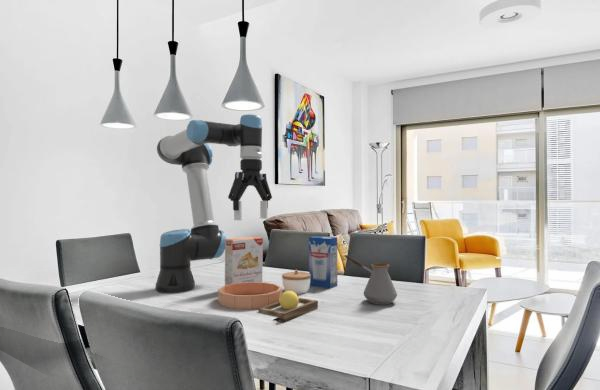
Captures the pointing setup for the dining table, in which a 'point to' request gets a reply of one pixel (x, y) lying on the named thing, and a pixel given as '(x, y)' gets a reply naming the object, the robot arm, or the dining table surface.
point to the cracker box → (243, 260)
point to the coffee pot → (378, 284)
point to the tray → (291, 313)
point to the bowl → (249, 295)
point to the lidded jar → (296, 281)
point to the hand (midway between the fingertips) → (251, 219)
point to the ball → (289, 300)
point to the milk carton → (323, 261)
